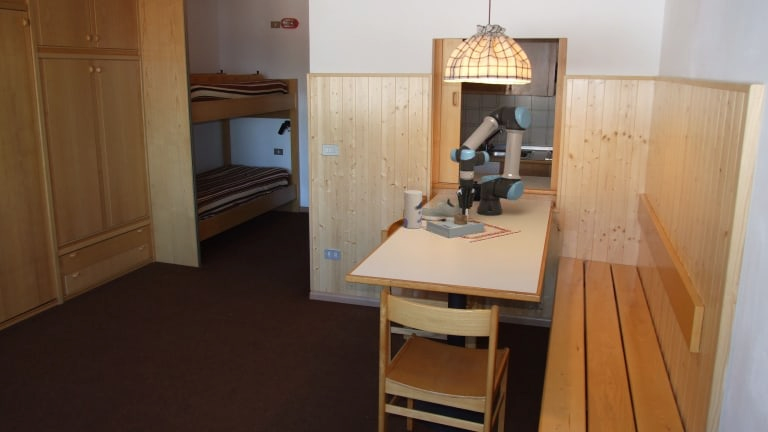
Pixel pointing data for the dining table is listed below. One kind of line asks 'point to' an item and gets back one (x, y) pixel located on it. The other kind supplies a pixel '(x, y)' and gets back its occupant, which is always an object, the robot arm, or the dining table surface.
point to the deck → (454, 228)
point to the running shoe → (441, 211)
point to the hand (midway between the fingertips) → (465, 220)
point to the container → (413, 209)
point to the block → (460, 219)
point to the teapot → (478, 191)
